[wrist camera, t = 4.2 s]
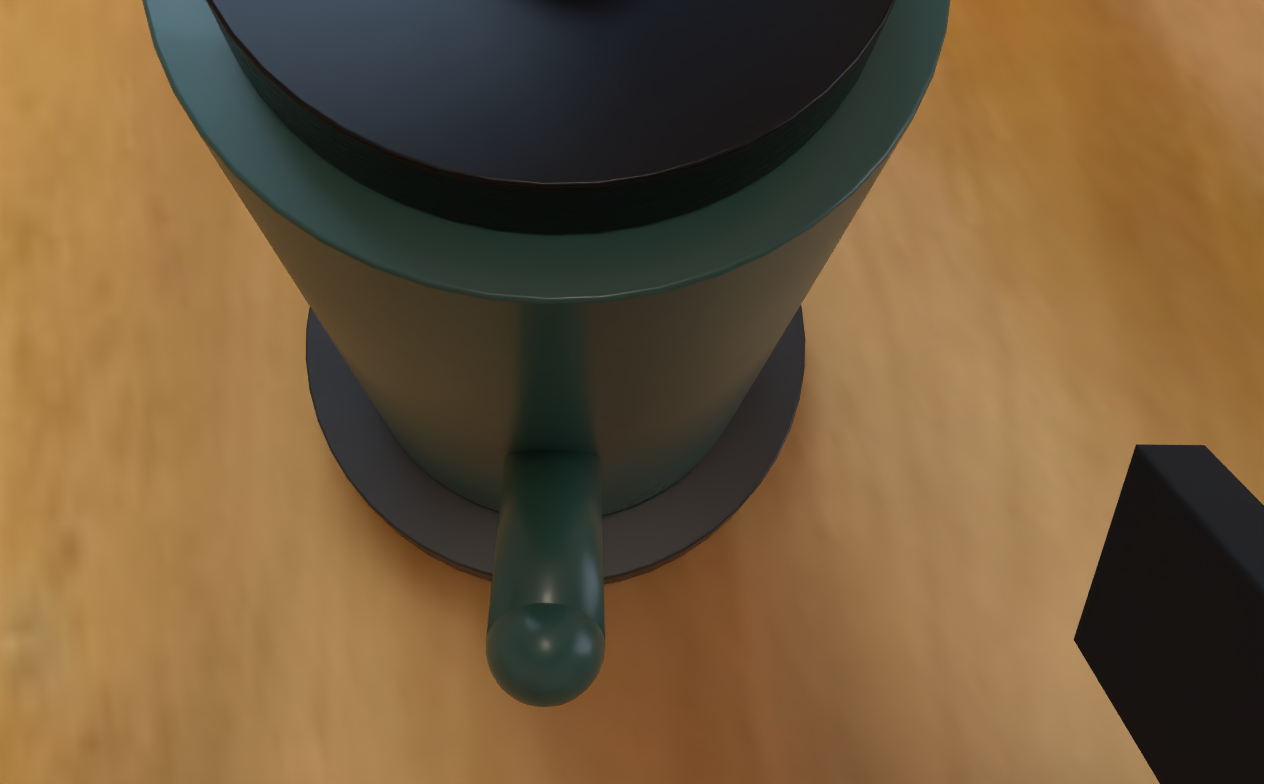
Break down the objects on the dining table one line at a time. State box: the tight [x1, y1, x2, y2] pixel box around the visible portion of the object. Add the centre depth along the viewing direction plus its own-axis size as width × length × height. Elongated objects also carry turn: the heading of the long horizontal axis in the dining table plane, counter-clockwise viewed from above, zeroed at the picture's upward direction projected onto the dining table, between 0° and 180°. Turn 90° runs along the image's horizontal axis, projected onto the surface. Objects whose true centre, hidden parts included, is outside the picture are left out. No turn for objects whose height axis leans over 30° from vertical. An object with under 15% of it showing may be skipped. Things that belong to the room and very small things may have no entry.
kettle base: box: [306, 305, 805, 584], centre depth 29 cm, size 13×13×2 cm
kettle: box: [142, 0, 950, 707], centre depth 19 cm, size 19×10×18 cm, turn 0°
